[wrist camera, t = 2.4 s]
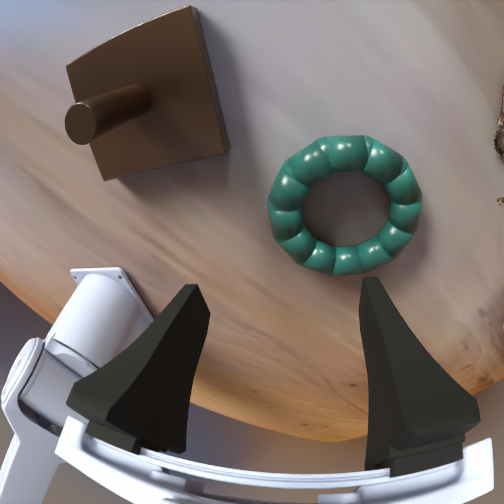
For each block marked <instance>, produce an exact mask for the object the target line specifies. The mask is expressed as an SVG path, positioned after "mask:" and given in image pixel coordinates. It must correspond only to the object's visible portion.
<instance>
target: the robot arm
mask: <svg viewBox="0 0 504 504" xmlns="http://www.w3.org/2000/svg"><path fill="white" fill-rule="evenodd" d="M70 274H71V276H72V277H73V279H74V280H75V282H76V283H77V285H78V287H77V289H76V290H75V292H74V293H73V295H72V296H71V298H70V299H69V301H68V302H67V304H66V305H65V307H64V308H63V310H62V312H61V313H60V315H59V316H58V318H57V320H56V321H55V323H54V325H53V326H52V328H51V330H50V331H49V333H48V335H47V337H46V339H44V340H41V339H40V338H38V337H37V338H34V339H30V340H29V341H28V342H27V343H26V344H25V346H24V347H23V349H22V350H21V352H20V353H19V355H18V357H17V359H16V360H15V362H14V364H13V366H12V368H11V371H10V373H9V375H8V378H7V381H6V384H5V386H4V388H3V390H2V394H1V400H2V403H1V404H2V409H3V412H4V414H5V416H6V418H7V420H8V422H9V423H10V426H11V427H12V429H13V431H14V433H15V434H14V437H13V439H12V441H11V444H10V446H9V449H8V451H7V454H6V456H5V459H4V462H3V465H2V467H1V470H0V504H43V501H44V499H45V496H46V494H47V491H48V489H49V486H50V484H51V482H52V480H53V477H54V475H55V473H56V470H57V468H58V466H59V464H61V463H66V462H68V463H70V464H71V465H73V466H74V467H76V468H77V469H79V470H80V471H81V472H83V473H84V474H86V475H87V476H89V477H90V478H92V479H93V480H95V481H96V482H98V483H99V484H101V485H103V486H104V487H106V488H107V489H109V490H111V491H112V492H114V493H116V494H118V495H120V496H121V497H123V498H125V499H127V500H128V501H130V502H132V503H134V504H463V503H465V502H467V501H470V500H472V499H474V498H477V497H479V496H480V495H483V494H485V493H487V492H489V491H491V490H493V488H494V470H493V452H492V443H491V438H487V439H485V440H483V441H480V442H477V443H474V444H472V445H469V446H466V447H464V448H462V442H464V441H465V435H464V433H466V432H467V431H469V430H470V429H472V428H474V427H475V426H476V425H478V423H479V422H480V420H481V419H480V413H479V407H478V404H477V401H476V399H475V398H474V397H473V396H472V395H471V394H469V393H468V392H467V391H466V390H465V389H464V388H462V387H461V386H460V385H459V384H458V383H457V382H456V381H455V380H454V379H453V378H452V377H451V376H449V374H448V373H447V372H446V371H445V370H444V369H443V368H442V367H441V366H440V365H439V364H438V363H437V362H436V361H435V360H434V359H433V357H432V356H431V355H430V354H429V353H428V352H427V350H426V349H425V348H424V347H423V345H422V344H421V343H420V342H419V340H418V339H417V338H416V336H415V335H414V334H413V332H412V331H411V329H410V328H409V327H408V325H407V324H406V322H405V321H404V319H403V318H402V316H401V315H400V313H399V312H398V310H397V309H396V307H395V306H394V304H393V302H392V301H391V299H390V297H389V296H388V294H387V292H386V291H385V289H384V287H383V285H382V284H381V282H380V280H379V278H378V277H364V278H363V280H362V288H361V296H360V303H359V320H360V332H361V337H362V343H363V349H364V355H365V361H366V368H367V375H368V389H369V417H368V438H367V449H366V459H365V471H363V472H352V473H338V474H278V473H264V472H254V471H245V470H237V469H230V468H224V467H218V466H212V465H207V464H202V463H197V462H193V461H188V460H184V459H180V458H176V457H172V456H169V455H165V454H162V453H159V451H163V452H166V451H170V452H174V453H178V454H181V453H183V452H185V451H186V431H187V420H188V410H189V403H190V396H191V390H192V384H193V379H194V375H195V371H196V368H197V365H198V362H199V358H200V355H201V352H202V348H203V345H204V342H205V338H206V335H207V331H208V325H209V319H210V311H209V309H208V307H207V304H206V302H205V300H204V298H203V296H202V293H201V291H200V289H199V287H198V284H185V286H184V287H183V288H182V289H181V290H180V291H179V292H178V294H177V295H176V296H175V297H174V298H173V299H172V301H171V302H170V303H169V304H168V305H167V306H166V308H165V309H164V310H163V311H162V312H161V313H160V315H159V316H158V317H157V318H156V319H155V320H154V318H153V317H152V315H151V314H150V312H149V311H148V309H147V308H146V306H145V305H144V303H143V302H142V300H141V298H140V297H139V295H138V294H137V292H136V290H135V289H134V287H133V286H132V284H131V282H130V281H129V279H128V277H127V276H126V274H125V272H124V271H123V269H121V268H119V267H112V268H85V269H71V271H70ZM166 468H167V469H171V470H174V471H178V472H181V473H185V474H189V475H193V476H198V477H202V478H207V479H212V480H217V481H223V482H229V483H235V484H242V485H251V486H259V487H271V488H287V489H332V488H347V487H357V488H356V489H355V490H354V492H352V493H341V494H320V495H319V496H318V500H317V503H287V502H272V501H261V500H252V499H244V498H236V497H230V496H223V495H218V494H213V493H208V492H203V489H204V483H201V482H197V481H193V480H189V479H185V478H180V477H177V476H173V475H171V474H170V473H169V471H168V470H167V469H166ZM359 486H360V487H359Z"/></svg>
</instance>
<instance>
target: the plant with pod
mask: <svg viewBox="0 0 504 504" xmlns="http://www.w3.org/2000/svg"><path fill="white" fill-rule="evenodd" d="M502 91H503V93H504V86H503V89H502ZM503 93H502V94H503ZM502 97H503V98H502V107H501V109H502V110H501V112H500V117H499V119H498V121H499V122H498V125H499V127H498V128H499V130H498V131H497V132H496V133H497V135H496V136H495V137H496V139H495V140H494V141H495V144H494V145H496V146H495V149H496V152H497V151H498V153H500V155H501V157H502V159H503V161H504V94H503V95H502ZM497 202H498V204H500V205H502V206H504V197H503V198H499V199H497Z"/></svg>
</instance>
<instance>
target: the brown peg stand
mask: <svg viewBox="0 0 504 504" xmlns="http://www.w3.org/2000/svg"><path fill="white" fill-rule="evenodd" d="M66 69H67V73H68V77H69V81H70V84H71V88H72V92H73V95H74V98H75V102H76V104H74V105H72V106H71V107H70V108H69V110H68V111H67V114H66V117H65V129H66V132H67V134H68V136H69V138H70V139H71V140H72V141H73V142H75V143H76V144H79V145H85V144H88V143H89V144H90V147H91V149H92V152H93V155H94V157H95V160H96V162H97V165H98V168H99V170H100V173H101V175H102V178H103V180H104V181H107V180H111V179H115V178H118V177H122V176H126V175H130V174H133V173H137V172H142V171H146V170H150V169H154V168H158V167H163V166H168V165H172V164H177V163H182V162H187V161H192V160H197V159H203V158H208V157H214V156H220V155H226V154H227V152H228V151H229V149H230V144H229V140H228V135H227V131H226V127H225V123H224V118H223V114H222V110H221V106H220V101H219V97H218V93H217V89H216V85H215V80H214V76H213V72H212V68H211V64H210V59H209V55H208V51H207V47H206V43H205V38H204V34H203V30H202V26H201V22H200V17H199V13H198V9H197V8H195V7H193V6H186V7H183V8H180V9H177V10H175V11H172V12H169V13H166V14H164V15H161V16H159V17H156V18H154V19H151V20H149V21H147V22H144V23H142V24H140V25H138V26H135V27H133V28H131V29H129V30H127V31H125V32H123V33H121V34H119V35H117V36H115V37H113V38H111V39H109V40H107V41H106V42H104V43H102V44H100V45H99V46H97V47H95V48H93V49H92V50H90V51H88V52H87V53H85V54H83V55H82V56H80V57H79V58H77V59H76V60H74V61H73V62H71V63H70V64H68V65H67V66H66Z"/></svg>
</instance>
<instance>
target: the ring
mask: <svg viewBox="0 0 504 504" xmlns="http://www.w3.org/2000/svg"><path fill="white" fill-rule="evenodd" d="M358 171H361V172H363V173H365V174H367V175H369V176H371V177H373V178H375V179H377V180H378V181H380V182H382V184H383V186H384V187H385V189H386V191H387V193H388V195H389V197H390V198H391V204H390V215H389V219H388V220H387V222H386V223H385V225H384V226H383V228H382V229H381V230H380V232H379V233H378V234H377V235H376V236H374V237H372V238H370V239H369V240H367V241H365V242H363V243H361V244H359V245H357V246H340V247H334V246H331V245H329V244H326V243H324V242H321V241H319V240H316V239H315V238H314V237H313V236H312V235H311V233H310V232H309V231H308V230H307V228H306V227H305V226H304V225H303V217H302V207H301V206H302V204H303V202H304V200H305V198H306V196H307V194H308V193H309V191H310V189H311V187H312V186H313V185H315V184H317V183H318V182H320V181H321V180H323V179H325V178H326V177H328V176H330V175H331V174H333V173H337V172H358ZM421 201H422V193H421V190H420V188H419V186H418V183H417V181H416V179H415V177H414V175H413V173H412V170H411V168H410V166H409V164H408V162H407V161H406V159H405V158H404V157H403V156H401V155H400V154H399V153H397V152H395V151H394V150H392V149H390V148H389V147H387V146H385V145H383V144H382V143H380V142H378V141H376V140H375V139H373V138H371V137H369V136H363V135H359V136H333V137H323V138H320V139H318V140H316V141H314V142H313V143H311V144H310V145H308V146H307V147H305V148H304V149H302V150H301V151H299V152H298V153H296V154H295V155H293V156H292V157H290V158H289V159H288V160H286V161H285V162H284V163H283V165H282V167H281V169H280V171H279V173H278V176H277V178H276V180H275V182H274V185H273V187H272V189H271V191H270V194H269V196H268V199H267V206H268V211H269V217H270V222H271V228H272V234H273V237H274V239H275V240H276V242H277V243H278V244H279V245H280V246H281V247H282V248H283V249H284V250H285V251H286V252H287V253H288V255H289V256H290V257H291V258H292V259H293V260H294V261H295V262H296V263H297V264H299V265H301V266H303V267H306V268H309V269H311V270H314V271H317V272H320V273H322V274H325V275H328V276H345V275H360V274H366V273H368V272H370V271H372V270H374V269H376V268H378V267H380V266H382V265H384V264H386V263H388V262H390V261H392V260H394V259H395V258H396V257H397V256H398V255H399V254H400V252H401V251H402V250H403V249H404V247H405V246H406V245H407V243H408V242H409V241H410V240H411V238H412V237H413V236H414V234H415V233H416V231H417V227H418V222H419V215H420V209H421Z"/></svg>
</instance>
